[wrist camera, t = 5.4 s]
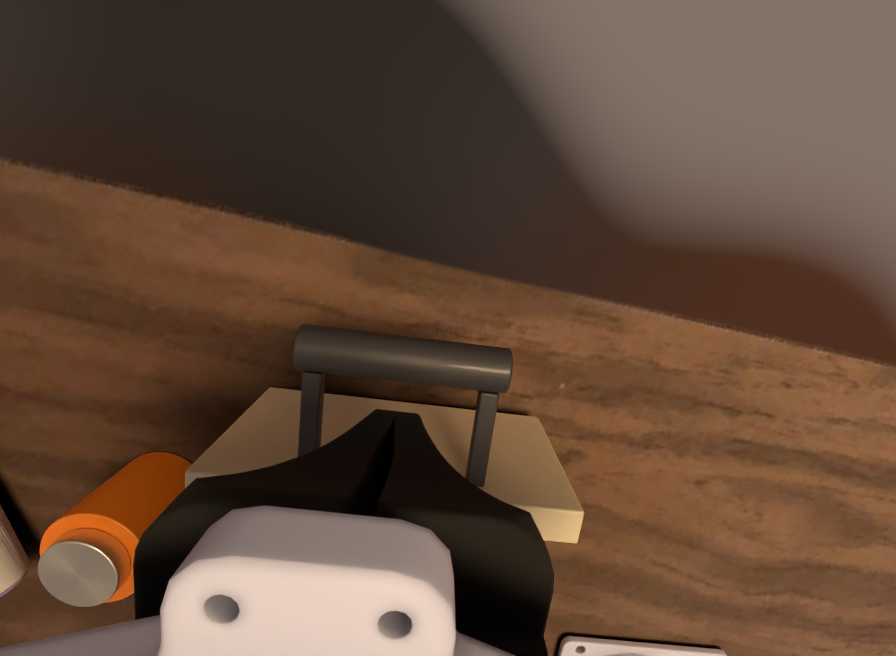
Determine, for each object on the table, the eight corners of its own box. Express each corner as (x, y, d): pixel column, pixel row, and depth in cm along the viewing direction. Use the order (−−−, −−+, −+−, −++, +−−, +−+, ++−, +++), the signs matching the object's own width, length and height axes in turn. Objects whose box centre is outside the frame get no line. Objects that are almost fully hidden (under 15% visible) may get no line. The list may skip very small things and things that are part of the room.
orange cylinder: (207, 455, 22) (131, 533, 17) (207, 529, 23) (136, 624, 18) (120, 446, 22) (14, 522, 16) (123, 520, 23) (25, 615, 17)
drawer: (272, 284, 19) (181, 320, 12) (557, 318, 20) (617, 372, 13) (261, 611, 23) (187, 773, 16) (497, 632, 24) (520, 797, 17)
